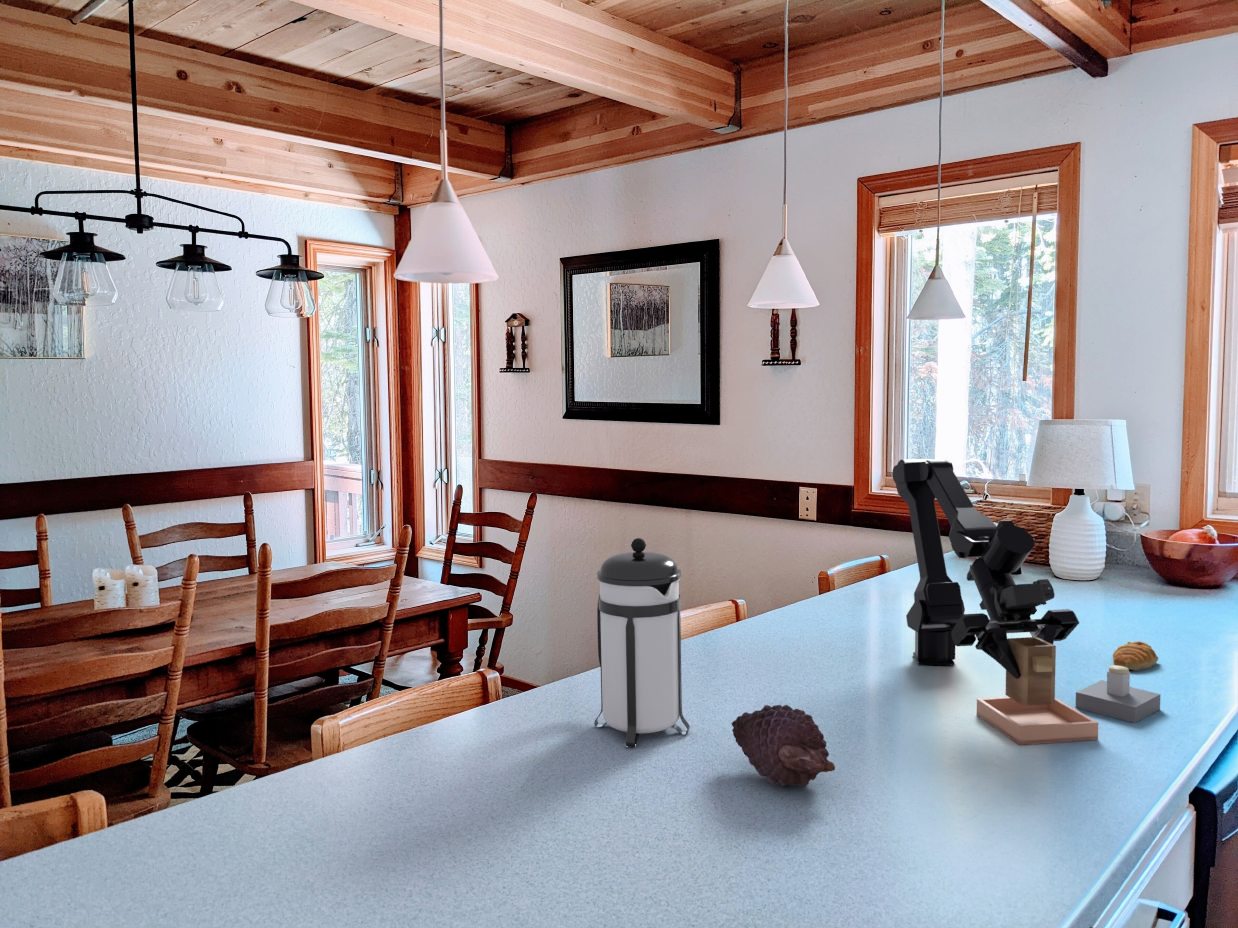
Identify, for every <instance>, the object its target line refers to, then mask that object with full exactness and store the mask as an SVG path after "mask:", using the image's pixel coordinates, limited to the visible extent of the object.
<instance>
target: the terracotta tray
mask: <svg viewBox="0 0 1238 928" xmlns="http://www.w3.org/2000/svg"><path fill="white" fill-rule="evenodd" d="M976 715H977V716H978V717H979V718H981V720H983V721H985V722H987V724H989V725H990V726H992V727H993V728H995V729H997V730H998V731H999V732H1000V733H1002V734H1003V735H1004V736H1006V737H1007V738H1009V739H1010V740H1012V741H1013V742H1014V743H1016V744H1017V745H1019V746H1027V745H1039V744H1042V745H1043V744H1055V743H1056V744H1057V743H1069V742H1070V743H1071V742H1072V743H1073V742H1084V741H1098V740H1099V722H1098V721H1096V720H1095V719H1093V718H1091V717H1089V716H1088V715H1086V714H1084V713H1082V712H1081V711H1079V710H1077V709H1076V708H1074V707H1073V706H1070V705H1069V704H1067V703H1065V702H1063V701H1062V700H1059V699H1058V698H1056V697H1055V704H1047V705H1031V706H1023V705H1021V704H1020V703H1018V702H1016V701H1015V700H1013V699H1011V698H1010V697H1008V696H1000V697H985V698H984V697H983V698H982V697H981V698H977V699H976Z"/></svg>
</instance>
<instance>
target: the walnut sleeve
mask: <svg viewBox="0 0 1238 928" xmlns="http://www.w3.org/2000/svg"><path fill="white" fill-rule="evenodd" d="M1007 642H1008V644H1009V647H1010V649H1011V651H1012V653H1013V656H1014V658H1015V660H1016V662H1017V665H1018V667H1019V671H1020V674H1021V676H1020V678H1019V679H1016V678H1015V677H1014V676H1012V675H1011V674H1010V673H1009V672H1008V671H1007V670H1006V669H1005V696H1006V697H1010V698H1011V699H1013V700H1015V701H1016V702H1018V703H1020V704H1021V705H1023V706H1031V705H1047V704H1055V698H1056V659H1057V658H1056V655H1057V654H1056V653H1057V652H1056V650H1057V646H1056V644H1054V643H1053V644H1051V643H1049V642H1046V641H1044V640H1042V639H1040V638H1038V637H1032V636H1031V637H1030V636H1029V637H1028V636H1027V637H1011V638H1008V637H1007Z"/></svg>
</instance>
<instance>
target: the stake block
mask: <svg viewBox="0 0 1238 928" xmlns="http://www.w3.org/2000/svg"><path fill="white" fill-rule="evenodd" d="M1106 672H1107V673H1106V680H1103V679H1101V680H1100V681H1098V682H1095V683H1092V684H1090V685H1088V686H1086V687H1084V688H1081V689H1080V690H1077V691H1076V692H1075V708H1077V709H1081V710H1084V711H1088V712H1092V713H1096V714H1100V715H1103V716H1107V717H1110V718H1115V719H1117V720H1118V719H1119V720H1122V721H1126V722H1129V723H1133V724H1136V723H1138V722H1140V721H1142V720H1143V719H1146V718H1147V717H1149V716H1151V715H1153V714H1154V713H1156V712H1158V711H1160V710H1161V693H1157V692H1153V691H1149V690H1145V689H1140V688H1137V687H1132V686H1130V683H1131V678H1130V677H1131V672H1130V669H1128V668H1126V667H1123V666H1117V665H1114V664H1112V665H1109V666H1108V670H1107V671H1106Z"/></svg>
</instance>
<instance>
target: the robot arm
mask: <svg viewBox="0 0 1238 928" xmlns="http://www.w3.org/2000/svg"><path fill="white" fill-rule="evenodd" d="M891 476H892V481H893V482H894V483H895V487H896V490H897V494H898V495H899V496H900V498H901V499H902V500H903V501H904V502H905V503H906V505H907V507H908V510H909V516H910V517H909V518H910V522H911V523H910V524H911V529H912V535H913V542H914V547H915V548H914V549H915V553H916V555H915V556H916V560H917V561H916V562H917V567H918V572H919V582H918V583H917V586H916V588H915V590H914V592H913V599H914V603H913V604H912V606H911V607H910V608H909V611H908V612H907V614H906V615H905V616H906V624H907V627H908V628H909V629H911V630H913V631H914V634H915V635H914V645H915V646H914V652H912V655H913V656H912V657H914V659H915V661H916V663H917V664H918V665H922V666H923V665H927V666H928V665H929V666H932V665H934V666H955V660H956V647H971V646H972V647H973V645H974V643H975V642H976V641H977V642H976V644H975V645H974V648H975V650H980V651H982V652H983V653H985V654H986V655H988V657H991V658H992V659H993V660H994V661H996V662H997V663H998V664H999V665H1000V666H1001V667H1002V668H1003V669H1004V670H1005V671H1006V670H1007V671H1008V672H1009V673H1010V674H1011V675H1012V676H1014V677H1015V678H1016V679H1019V678H1020V676H1021V674H1020V671H1019V667H1018V665H1017V662H1016V660H1015V658H1014V656H1013V653H1012V651H1011V649H1010V647H1009V644H1008V642H1007V638H1008V636H1007V635H1008V634H1015V633H1016V634H1017V633H1018V634H1019V633H1029V634H1030V635H1031V637H1038V638H1040V639H1042V640H1044V641H1046V642H1049V643H1051V644H1053V645H1054V642H1062V641H1064V640H1066V639H1067V638H1068V637H1069V635H1070V634H1071V633H1072V632H1073V631H1074V630H1075V629H1076V628H1077V626H1079V624H1080V621H1079V618H1078V616H1077V615H1076V613H1075V612H1074V611H1073V610H1072V609H1069V608H1064V609H1048V610H1047V611H1046V612H1045V614H1044V615H1043V616H1042V617H1041V618H1036V619H1035V618H1033V619H1032V618H1031V616H1032V615H1033V616H1034V615H1035V614H1036V613H1037V612H1038V610H1037V608H1036V607H1038V606H1044V605H1047V601H1050V600H1052V599H1054V598H1055V595H1056V594H1055V589H1054V587H1053V585H1052V583H1051V582H1050V580H1049V579H1047V578H1046V579H1045V578H1041V579H1040V578H1039V579H1037V580H1036V581H1035V580H1034V581H1033V582H1032V583H1020V584H1019V583H1018V584H1017V583H1016V581H1015V580H1014V578H1013V575H1012V574H1013V573H1015V572H1017V571H1018V570H1019V569H1020V567H1021V566H1022V565H1023V563H1024V562H1025V561H1026V559H1027V558H1028V556H1029V555H1030V554H1031V552H1032V551H1033V549H1034V547H1035V540H1034V537H1033V535H1031V534H1030V533H1029V532H1028V531H1027V530H1025V529H1024V528H1022V527H1021V526H1018V525H1015V523H1014V522H1013V520H1012V519H1008V520H1006V519H1005V520H1002V519H1001V520H999V521H998V523H997V525H996V523H994V521H993V520H992V519H991V518H990V517H989V516H987V515H985V514H983V513H982V512H980V511H978V510H977V509H976V507H975V506H974V504H973V502H972V501H971V499H970V497H969V496H968V494H967V491H966V490H965V489H964V488H963V485H962V483H961V482H960V481H959V479H958V477H957V475H956V474H955V472H954V465H953V462H951V460H947V459H944V458H943V459H933V458H911V459H908V458H907V459H906V458H905V459H904V458H903V459H900V460H898V462H897V464H896V465H894V466H893V469H892V475H891ZM935 500H936V501H937V503H938V505H939V506H940V508H941V510H942V512H943V513H944V516H945V517H946V520H948V523H949V526H950V530H949V535H948V539H949V541H950V545H951V548H952V550H953V552H954V553H955V555H956V556H957V557H958V558H959V559H975V560H974V561H973V562H972V564H970V565H969V570H968V571H967V573H966V580H967V581H968V582H969V581H970V582H972V581H973V582H974V584H975V585H976V588H977V589H976V590H977V591H978V594H979V596H980V598H981V602H980V603H979V607H980V610H981V611H986V612H987V614H985V613H984V612H980V613H965V611H966V609H965V604H964V600H963V598H962V592H961V591H962V590H961V586H960V584H959V582H958V581H953V580H952V579H951V578H950V577H949V576H948V573H947V567H946V562H945V556H944V550H943V544H942V539H941V538H942V537H941V532H940V526H939V520H938V514H937V510H936V503H935Z"/></svg>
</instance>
